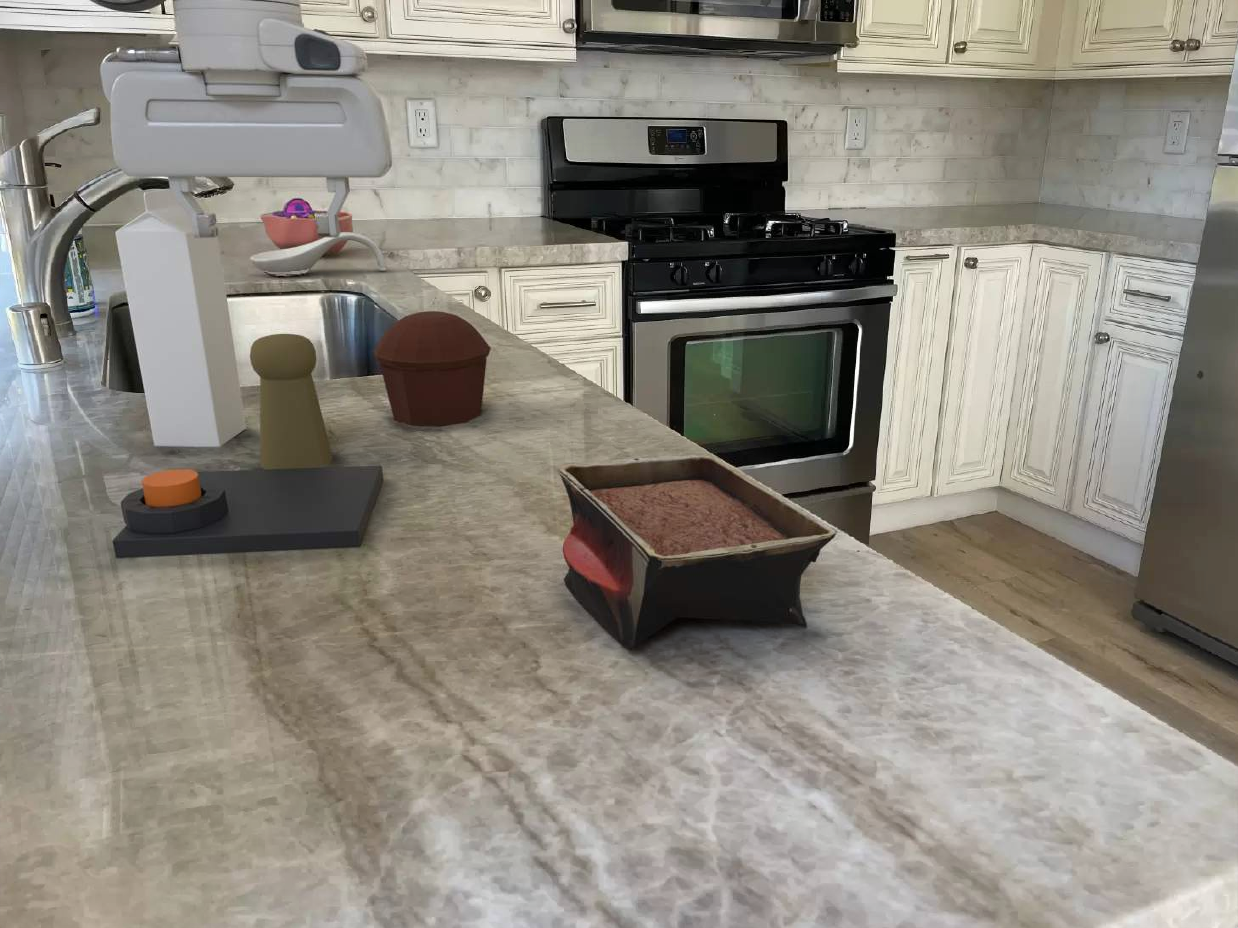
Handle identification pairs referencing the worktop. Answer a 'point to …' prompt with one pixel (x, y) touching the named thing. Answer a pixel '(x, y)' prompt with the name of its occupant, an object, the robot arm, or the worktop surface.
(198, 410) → the milk
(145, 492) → the button
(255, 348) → the cork
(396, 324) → the muffin
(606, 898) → the worktop surface
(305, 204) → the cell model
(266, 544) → the scale
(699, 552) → the baking dish
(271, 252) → the spoon rest
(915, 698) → the worktop surface
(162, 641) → the worktop surface
